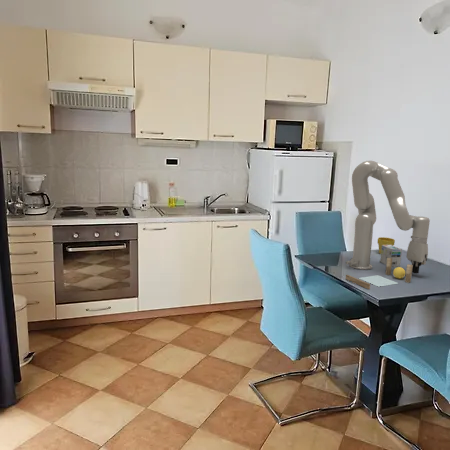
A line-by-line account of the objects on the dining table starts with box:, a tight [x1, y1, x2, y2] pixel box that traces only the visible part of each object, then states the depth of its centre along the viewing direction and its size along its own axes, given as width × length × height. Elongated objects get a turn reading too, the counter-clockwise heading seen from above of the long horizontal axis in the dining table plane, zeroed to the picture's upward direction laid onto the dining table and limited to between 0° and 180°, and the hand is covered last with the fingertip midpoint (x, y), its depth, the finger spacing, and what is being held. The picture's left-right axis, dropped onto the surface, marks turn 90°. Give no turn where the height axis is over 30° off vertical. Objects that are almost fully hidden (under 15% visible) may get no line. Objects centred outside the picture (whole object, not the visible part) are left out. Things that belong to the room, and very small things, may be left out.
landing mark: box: [358, 274, 399, 288], centre depth 214 cm, size 14×14×1 cm
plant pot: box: [377, 236, 396, 255], centre depth 270 cm, size 10×10×10 cm
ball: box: [392, 266, 406, 279], centre depth 219 cm, size 6×6×6 cm
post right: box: [404, 263, 413, 284], centre depth 213 cm, size 3×3×9 cm
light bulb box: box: [379, 245, 403, 268], centre depth 245 cm, size 11×7×11 cm, turn 13°
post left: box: [384, 258, 392, 276], centre depth 225 cm, size 3×3×9 cm
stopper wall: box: [345, 274, 371, 290], centre depth 207 cm, size 1×16×2 cm, turn 26°
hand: (415, 272), depth 225 cm, fingers closed
